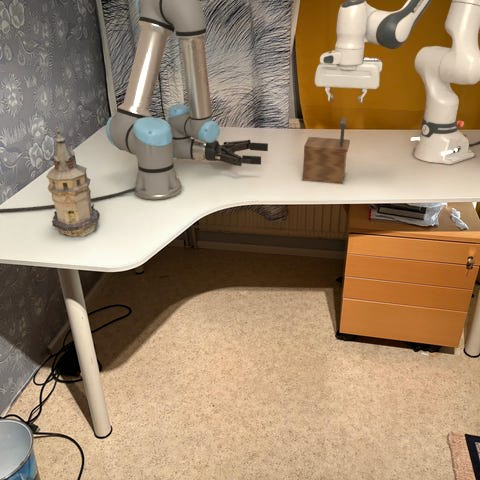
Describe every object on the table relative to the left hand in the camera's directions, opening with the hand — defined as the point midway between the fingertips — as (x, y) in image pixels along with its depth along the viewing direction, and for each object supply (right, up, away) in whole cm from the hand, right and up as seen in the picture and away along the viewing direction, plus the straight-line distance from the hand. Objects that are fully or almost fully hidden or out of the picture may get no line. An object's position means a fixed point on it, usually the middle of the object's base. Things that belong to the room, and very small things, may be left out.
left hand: (264, 153), depth 190 cm
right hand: (+25, +14, -18) cm, 34 cm away
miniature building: (-56, -27, -35) cm, 71 cm away
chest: (+21, -9, -3) cm, 23 cm away
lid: (+21, +1, -9) cm, 23 cm away
